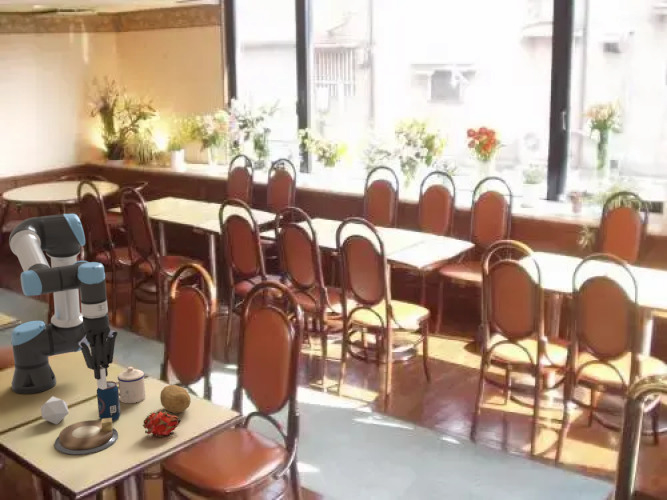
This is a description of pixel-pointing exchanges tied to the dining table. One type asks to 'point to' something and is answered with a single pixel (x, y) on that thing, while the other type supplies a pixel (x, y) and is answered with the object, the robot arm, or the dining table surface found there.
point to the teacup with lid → (131, 385)
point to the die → (54, 410)
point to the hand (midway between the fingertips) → (102, 387)
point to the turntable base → (86, 451)
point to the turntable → (86, 434)
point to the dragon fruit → (160, 423)
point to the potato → (175, 398)
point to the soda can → (109, 401)
